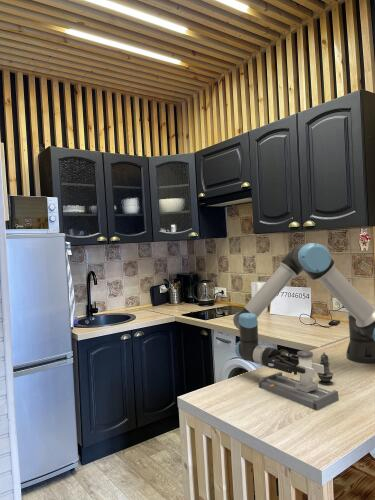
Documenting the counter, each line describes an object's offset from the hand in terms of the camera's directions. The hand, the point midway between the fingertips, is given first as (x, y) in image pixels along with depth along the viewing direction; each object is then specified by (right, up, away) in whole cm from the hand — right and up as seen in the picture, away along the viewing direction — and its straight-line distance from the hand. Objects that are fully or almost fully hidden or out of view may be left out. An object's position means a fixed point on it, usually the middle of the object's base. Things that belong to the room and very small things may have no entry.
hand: (318, 371), depth 123 cm
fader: (-3, -7, +4) cm, 9 cm away
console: (-5, -11, +8) cm, 14 cm away
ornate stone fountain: (+9, -10, +16) cm, 21 cm away
